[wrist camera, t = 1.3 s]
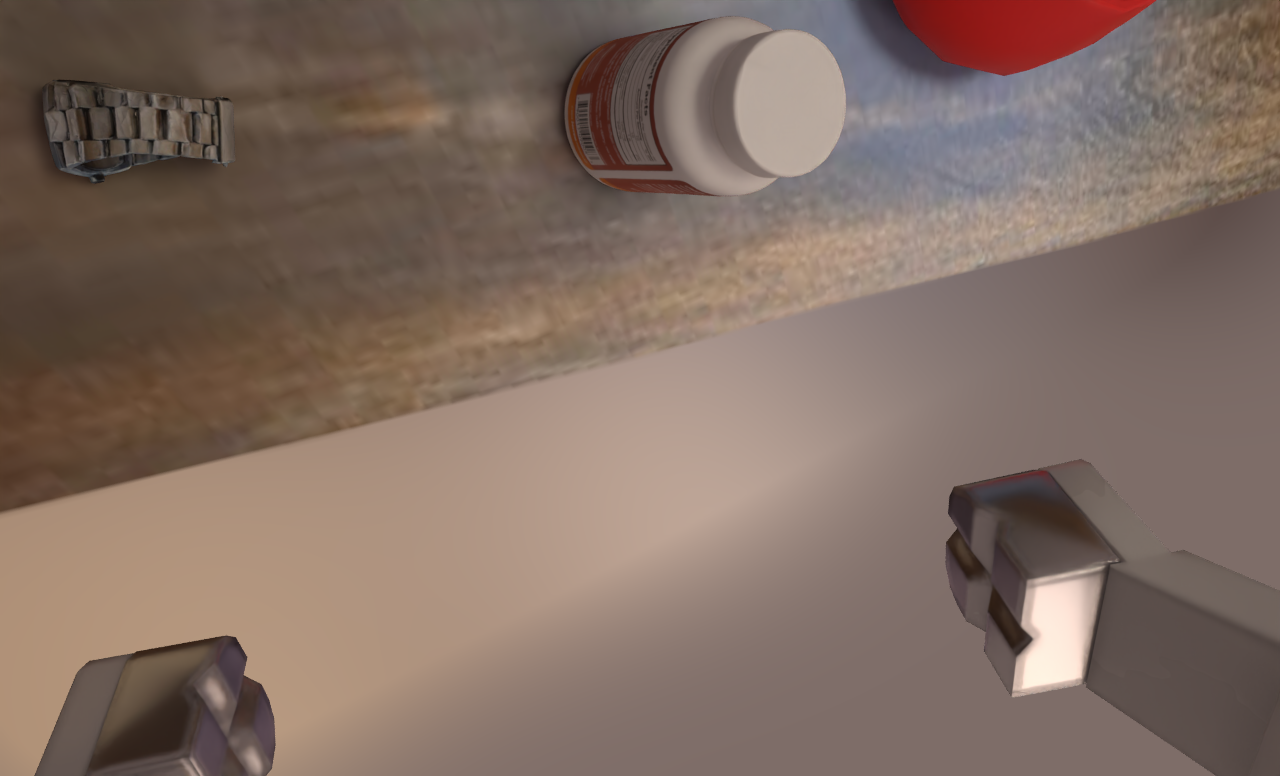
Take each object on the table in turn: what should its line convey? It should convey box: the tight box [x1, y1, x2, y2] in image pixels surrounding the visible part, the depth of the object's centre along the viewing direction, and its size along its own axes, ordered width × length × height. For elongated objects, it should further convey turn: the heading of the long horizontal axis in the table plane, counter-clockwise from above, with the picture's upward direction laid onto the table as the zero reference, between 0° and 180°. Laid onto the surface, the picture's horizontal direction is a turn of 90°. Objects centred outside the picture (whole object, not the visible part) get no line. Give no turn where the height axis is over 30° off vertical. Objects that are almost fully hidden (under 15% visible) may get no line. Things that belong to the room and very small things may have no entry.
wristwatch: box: [43, 80, 235, 183], centre depth 31 cm, size 3×5×5 cm
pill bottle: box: [564, 16, 846, 196], centre depth 37 cm, size 6×6×11 cm
